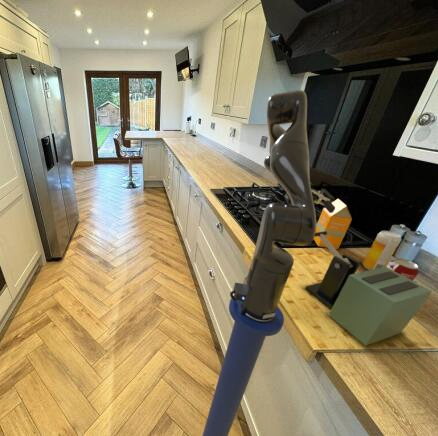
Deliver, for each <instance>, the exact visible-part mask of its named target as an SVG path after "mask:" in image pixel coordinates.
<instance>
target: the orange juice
mask: <svg viewBox="0 0 438 436" xmlns="http://www.w3.org/2000/svg"><path fill="white" fill-rule="evenodd" d="M332 204H333V205H334V206H335V210H334V212H333V213H329V211H328V210H327V209H326V208H325V207H323V208H322V211H321V213H320V215H319V218H318V220H317V222H316V233H317V232H324V231H326V232H327V235H324V236H325V237H326V239H327V240H328V241H329V242H330V243H331V245H332V246H333V247H334V248H335V249H336V250H339V248H340V246H341V244H342V242H343V239H344V238H345V236H346V233H347V231H348V229H349V227H350V225H351V223H352V220H353V219H352V215H351V213H350V210H349V207H348V205H347V204H345V203H344V202H343V201H342V200H341V199H339V198H337V199H334V200H333V202H332ZM313 241H314V242H315V244H316V245H317V246H318V247H321V248H326V249H328V248H327V246H326V245H325V244H324V243H323V242H322V240H321V239H320V238H319V237H318V236H316V237H314V239H313Z"/></svg>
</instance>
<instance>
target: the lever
mask: <svg viewBox="0 0 438 436" xmlns="http://www.w3.org/2000/svg"><path fill="white" fill-rule="evenodd" d="M324 235H327V232H326V231H324V232H317V233H315V236H314V237H316V236H318V237H319V238H320V239H321V240H322V242H323V243H324V244H325V245H326V246H327V248H326V249H328V251H330V253H331V254H332V255H333V257H334V256H337V257H338V258H340V259H342V260H344V261H345V262H347V263H349V264H350V267H349V269H350V268H352V267H353V265H352V263H351V262H350V261H349V260H348V259H347V258H344V259H343V258H342V255H341V254H340V253H339V252H338V251H337V249H335V248H334V247H333V246H332V245H331V243H330V242H329V241H328V240H327V239H326V237H325V236H324Z"/></svg>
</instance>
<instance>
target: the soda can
mask: <svg viewBox="0 0 438 436" xmlns="http://www.w3.org/2000/svg"><path fill="white" fill-rule="evenodd" d="M386 267H387V268H389V269H391V270H393V271H394V272H396V273H398V274H400V275H402V276H404V277H406V278H408V279H410V280H412V281H414V280H415V279H416V278H417V276H418V275H419V270H418V269H419V265H418V264H417V263H415V262H414V261H412V260H409V259H406V258H403V257H394V258H393V259H392V260H389V262H388V263H387V265H386Z"/></svg>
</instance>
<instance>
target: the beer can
mask: <svg viewBox="0 0 438 436" xmlns="http://www.w3.org/2000/svg"><path fill="white" fill-rule="evenodd" d="M401 242H402V235H400V234H398V233H396V232H394V231H389V230H381V231H380V232H379V233H377V235H376V237H375V239H374V241H373V242H372V245H371V246H370V248H369V250H368V252H367V253H366V255H365V257H364V258H363V261H362V265H363V267H364V268H365V269H366V270H367V271H369V270H373V269H377V268H381V267H386V266H387V264H388V263H389V262H390V261H391V258H392V257H393V255H394V253H395V252H396V250H397V249H398V247H399V245H400V243H401Z"/></svg>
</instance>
